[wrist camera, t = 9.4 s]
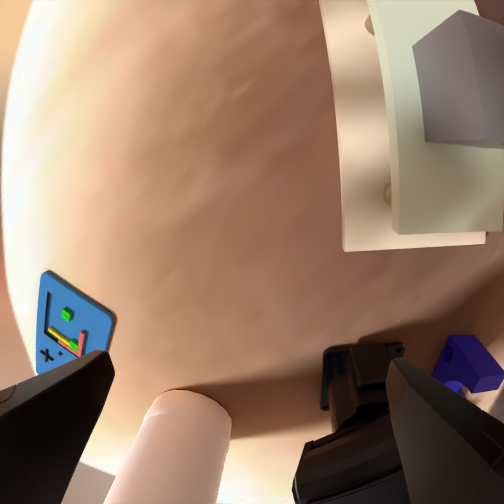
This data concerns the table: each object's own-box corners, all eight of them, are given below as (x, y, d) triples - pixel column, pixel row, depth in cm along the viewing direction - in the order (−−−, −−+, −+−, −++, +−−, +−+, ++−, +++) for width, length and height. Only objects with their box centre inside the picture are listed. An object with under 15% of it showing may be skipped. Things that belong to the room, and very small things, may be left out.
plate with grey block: (464, 6, 10) (517, -30, 4) (490, 225, 14) (558, 258, 8) (362, -16, 11) (391, -78, 5) (391, 229, 15) (446, 271, 9)
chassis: (477, 239, 18) (508, 256, 14) (342, 247, 19) (355, 268, 15) (455, 10, 13) (479, -8, 9) (316, -11, 14) (321, -41, 10)
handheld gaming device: (34, 374, 26) (39, 270, 22) (39, 369, 27) (46, 266, 23) (90, 413, 27) (111, 320, 22) (95, 407, 28) (118, 313, 23)
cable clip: (435, 426, 24) (451, 466, 18) (400, 430, 24) (413, 474, 19) (484, 334, 20) (517, 372, 15) (448, 334, 21) (480, 377, 15)
